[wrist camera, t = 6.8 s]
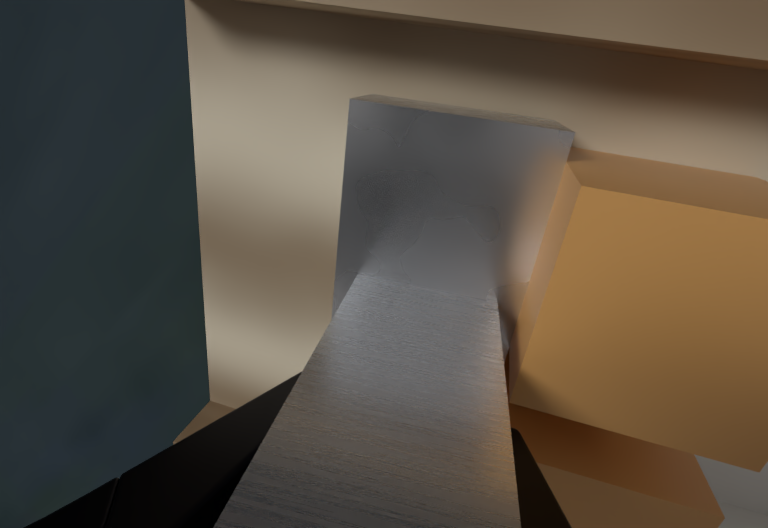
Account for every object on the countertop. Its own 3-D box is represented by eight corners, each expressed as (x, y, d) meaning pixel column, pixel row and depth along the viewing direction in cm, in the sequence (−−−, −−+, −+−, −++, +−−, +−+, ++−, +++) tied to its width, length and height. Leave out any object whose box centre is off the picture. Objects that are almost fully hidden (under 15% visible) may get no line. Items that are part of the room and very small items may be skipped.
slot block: (571, 457, 18) (598, 623, 12) (264, 366, 20) (176, 472, 15) (777, 15, 11) (1048, -44, 5) (268, -41, 13) (105, -120, 8)
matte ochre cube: (602, 478, 13) (638, 635, 9) (468, 439, 13) (454, 570, 10) (655, 374, 11) (724, 517, 7) (498, 335, 12) (494, 449, 8)
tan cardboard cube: (675, 337, 10) (759, 472, 7) (509, 299, 11) (509, 402, 8) (757, 177, 9) (927, 247, 5) (554, 144, 9) (581, 185, 6)
